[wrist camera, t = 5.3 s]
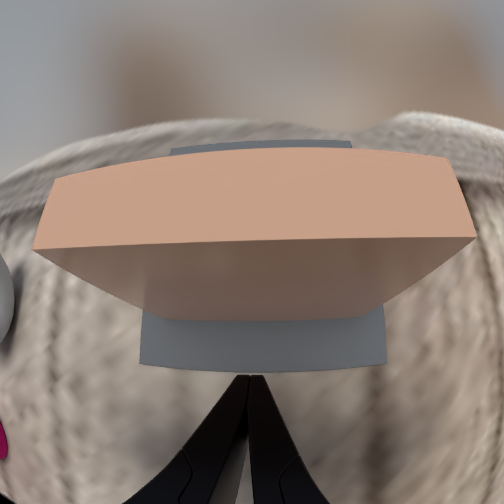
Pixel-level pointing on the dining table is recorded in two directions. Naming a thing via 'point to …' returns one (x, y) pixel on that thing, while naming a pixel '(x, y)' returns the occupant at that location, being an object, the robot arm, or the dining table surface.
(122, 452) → the dining table surface
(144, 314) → the rubber mat
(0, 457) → the pepper mill
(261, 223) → the terracotta tile
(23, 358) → the dining table surface
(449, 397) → the dining table surface
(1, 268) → the donut
